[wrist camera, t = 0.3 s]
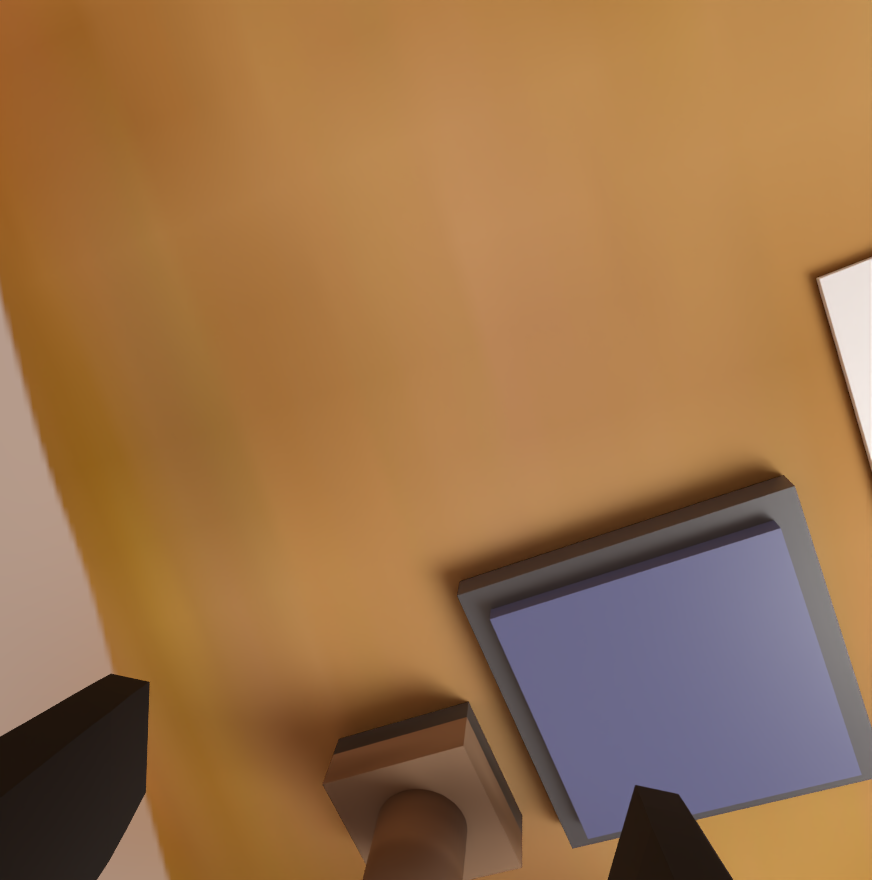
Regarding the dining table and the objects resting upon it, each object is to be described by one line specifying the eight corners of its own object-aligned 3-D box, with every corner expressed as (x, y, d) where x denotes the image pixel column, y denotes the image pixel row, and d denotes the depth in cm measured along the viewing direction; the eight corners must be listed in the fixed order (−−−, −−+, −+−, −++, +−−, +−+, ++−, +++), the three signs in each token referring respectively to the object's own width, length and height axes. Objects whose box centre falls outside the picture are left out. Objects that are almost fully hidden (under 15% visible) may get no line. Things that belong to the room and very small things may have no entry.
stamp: (522, 813, 23) (521, 996, 17) (396, 844, 23) (358, 1026, 18) (468, 699, 22) (451, 856, 16) (339, 736, 22) (282, 896, 17)
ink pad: (873, 754, 20) (896, 789, 19) (571, 827, 22) (573, 862, 21) (783, 474, 18) (802, 493, 17) (459, 581, 20) (455, 604, 19)
